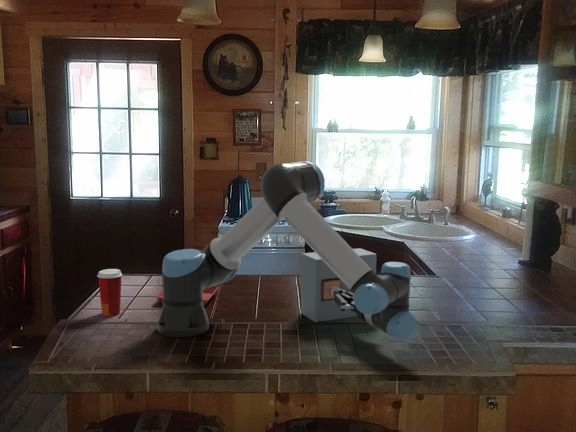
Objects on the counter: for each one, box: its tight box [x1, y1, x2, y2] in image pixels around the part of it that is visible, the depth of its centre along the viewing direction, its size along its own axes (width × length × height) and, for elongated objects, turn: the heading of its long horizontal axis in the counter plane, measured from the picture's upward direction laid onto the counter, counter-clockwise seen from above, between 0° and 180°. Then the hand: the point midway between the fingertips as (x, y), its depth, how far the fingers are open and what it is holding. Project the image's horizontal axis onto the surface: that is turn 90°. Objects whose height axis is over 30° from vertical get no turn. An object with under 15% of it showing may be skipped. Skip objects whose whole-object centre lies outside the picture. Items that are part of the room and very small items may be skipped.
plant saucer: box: [155, 285, 219, 307], centre depth 220 cm, size 18×18×3 cm
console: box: [300, 247, 378, 323], centre depth 204 cm, size 10×22×20 cm, turn 115°
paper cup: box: [96, 268, 123, 317], centre depth 202 cm, size 8×8×14 cm
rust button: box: [321, 278, 340, 300], centre depth 199 cm, size 5×6×6 cm
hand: (333, 290), depth 196 cm, fingers closed
